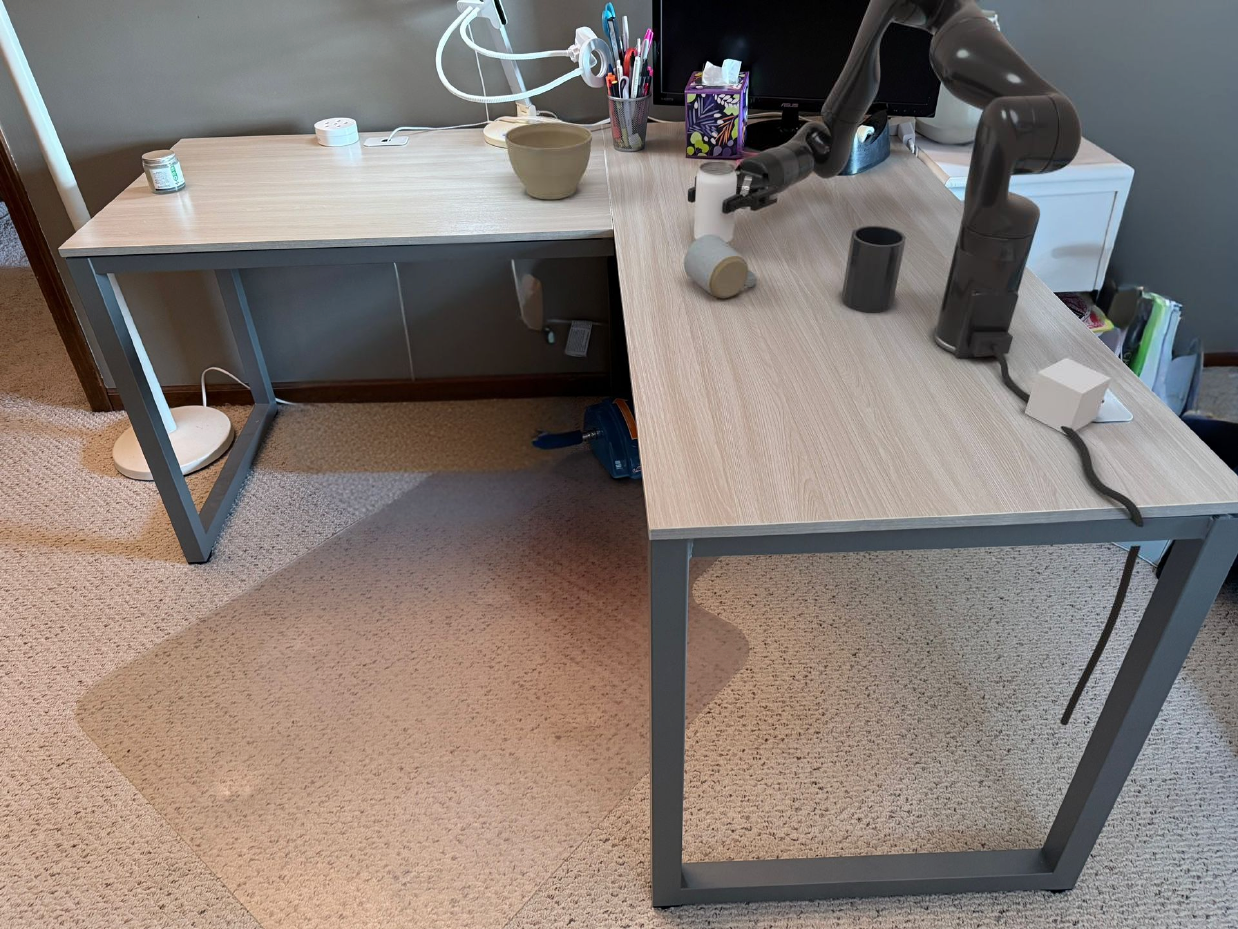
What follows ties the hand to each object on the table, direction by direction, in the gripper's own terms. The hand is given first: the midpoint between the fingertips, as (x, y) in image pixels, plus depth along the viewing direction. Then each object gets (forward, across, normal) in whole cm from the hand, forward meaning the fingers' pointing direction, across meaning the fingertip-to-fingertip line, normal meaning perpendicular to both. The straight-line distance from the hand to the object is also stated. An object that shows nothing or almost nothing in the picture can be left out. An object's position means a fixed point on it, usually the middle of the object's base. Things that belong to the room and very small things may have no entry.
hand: (706, 201), depth 146 cm
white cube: (+7, +62, +10) cm, 63 cm away
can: (-2, 0, +7) cm, 8 cm away
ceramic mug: (+7, +9, +10) cm, 15 cm away
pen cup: (-4, +28, +9) cm, 30 cm away
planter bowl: (-3, -40, +10) cm, 42 cm away
